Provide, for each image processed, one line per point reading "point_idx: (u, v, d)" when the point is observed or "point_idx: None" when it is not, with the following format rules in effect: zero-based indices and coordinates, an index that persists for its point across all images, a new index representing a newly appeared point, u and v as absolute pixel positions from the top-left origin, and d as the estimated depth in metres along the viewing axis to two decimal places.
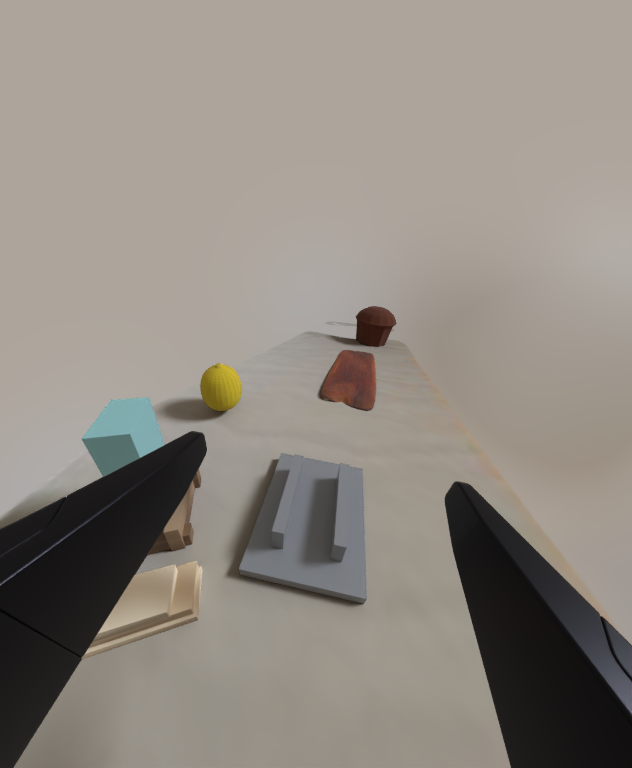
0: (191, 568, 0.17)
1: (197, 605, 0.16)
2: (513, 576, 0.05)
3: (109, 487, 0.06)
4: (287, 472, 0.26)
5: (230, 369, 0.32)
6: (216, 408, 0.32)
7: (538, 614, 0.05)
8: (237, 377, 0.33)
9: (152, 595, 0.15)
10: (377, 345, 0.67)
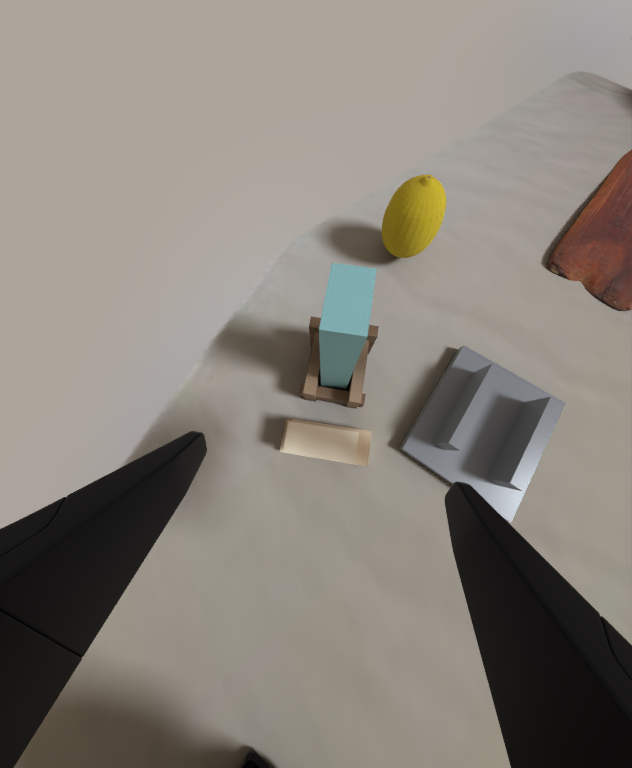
0: (367, 436, 0.20)
1: (368, 459, 0.21)
2: (513, 576, 0.05)
3: (109, 487, 0.06)
4: (465, 373, 0.22)
5: (441, 190, 0.20)
6: (395, 253, 0.24)
7: (538, 613, 0.05)
8: (445, 207, 0.21)
9: (344, 448, 0.19)
10: None
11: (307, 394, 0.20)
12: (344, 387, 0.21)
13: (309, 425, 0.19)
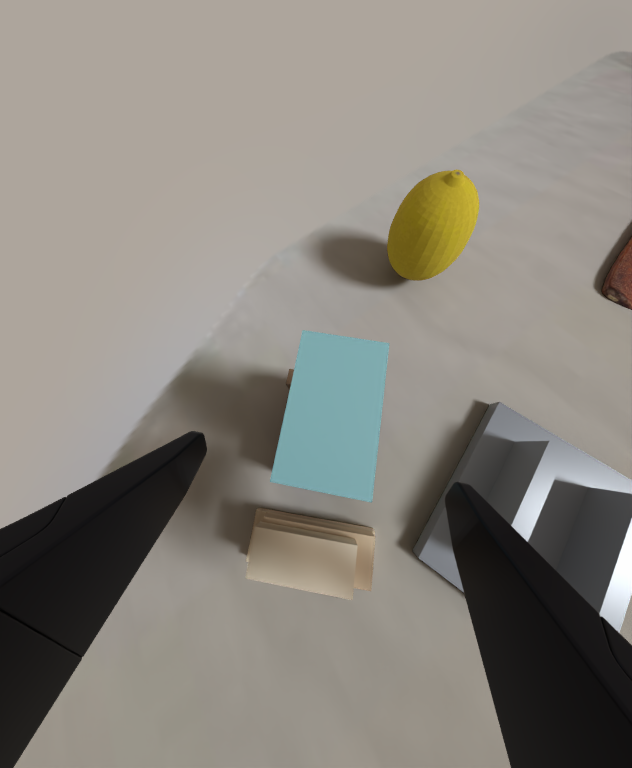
0: (370, 544, 0.14)
1: None
2: (513, 576, 0.05)
3: (109, 487, 0.06)
4: (504, 443, 0.16)
5: (474, 192, 0.14)
6: (405, 276, 0.18)
7: (538, 613, 0.05)
8: None
9: (336, 572, 0.13)
10: None
11: None
12: None
13: (285, 534, 0.13)
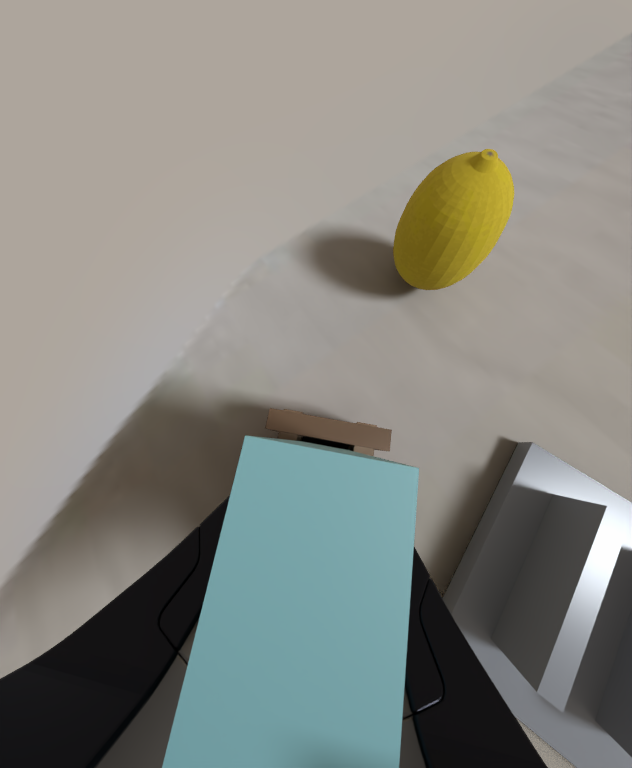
0: None
1: None
2: None
3: None
4: (539, 496, 0.13)
5: (510, 179, 0.11)
6: (416, 285, 0.15)
7: None
8: (510, 211, 0.12)
9: None
10: None
11: None
12: None
13: None
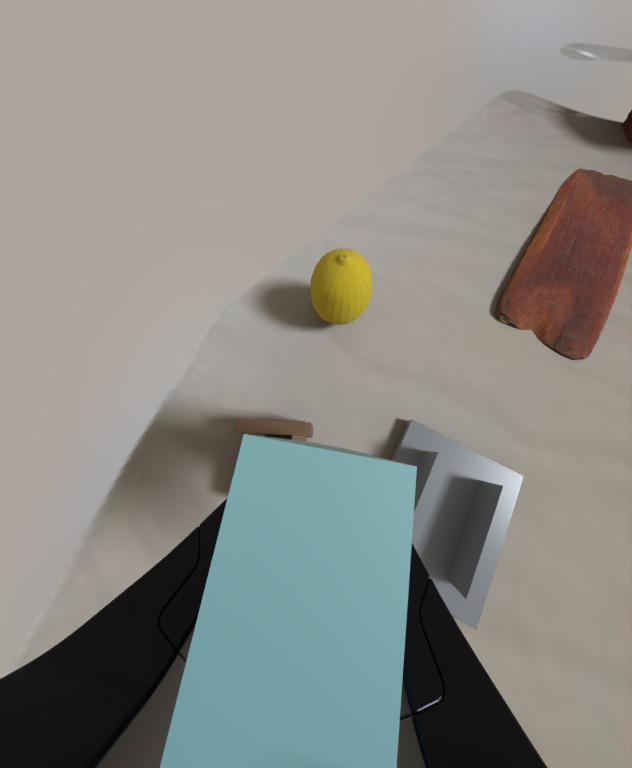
0: None
1: None
2: None
3: None
4: (416, 453, 0.20)
5: (362, 266, 0.18)
6: (330, 322, 0.22)
7: None
8: (370, 280, 0.19)
9: None
10: None
11: None
12: None
13: None
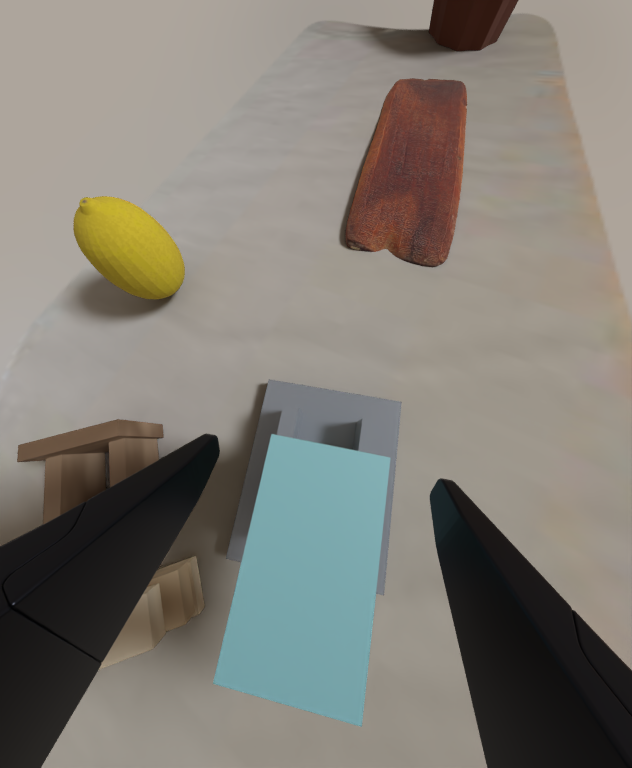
0: (174, 579, 0.14)
1: (198, 601, 0.14)
2: (489, 571, 0.05)
3: (128, 491, 0.06)
4: (280, 415, 0.17)
5: (121, 210, 0.14)
6: (148, 298, 0.18)
7: (512, 607, 0.05)
8: (149, 228, 0.15)
9: (131, 631, 0.12)
10: (479, 45, 0.28)
11: None
12: None
13: None
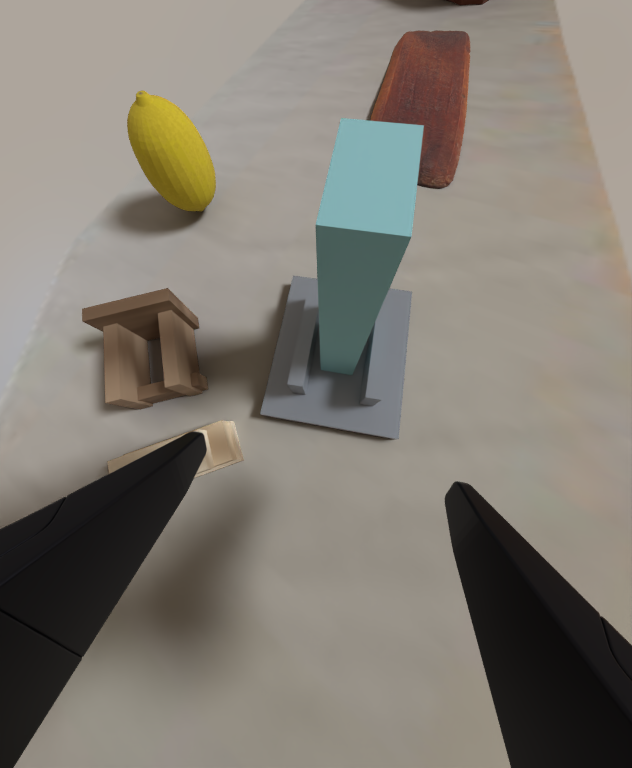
0: (219, 427, 0.16)
1: (238, 452, 0.17)
2: (513, 576, 0.05)
3: (109, 487, 0.06)
4: (304, 303, 0.19)
5: (170, 106, 0.16)
6: (184, 206, 0.20)
7: (538, 613, 0.05)
8: (191, 129, 0.17)
9: None
10: None
11: (115, 402, 0.16)
12: (352, 368, 0.16)
13: (135, 453, 0.15)
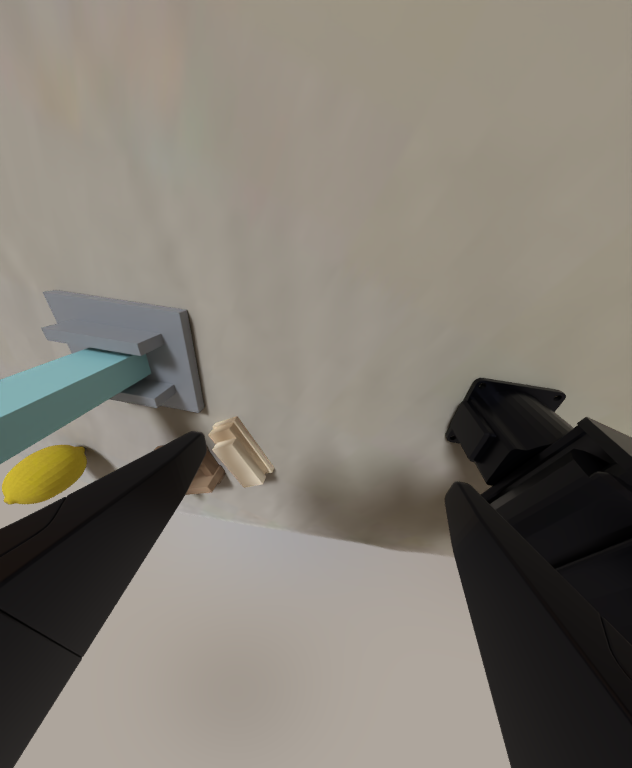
0: (212, 436, 0.24)
1: (230, 421, 0.24)
2: (513, 576, 0.05)
3: (109, 487, 0.06)
4: None
5: (4, 487, 0.24)
6: (81, 462, 0.29)
7: (538, 613, 0.05)
8: (13, 472, 0.25)
9: (229, 454, 0.23)
10: None
11: (211, 487, 0.27)
12: (130, 358, 0.19)
13: (235, 476, 0.25)
